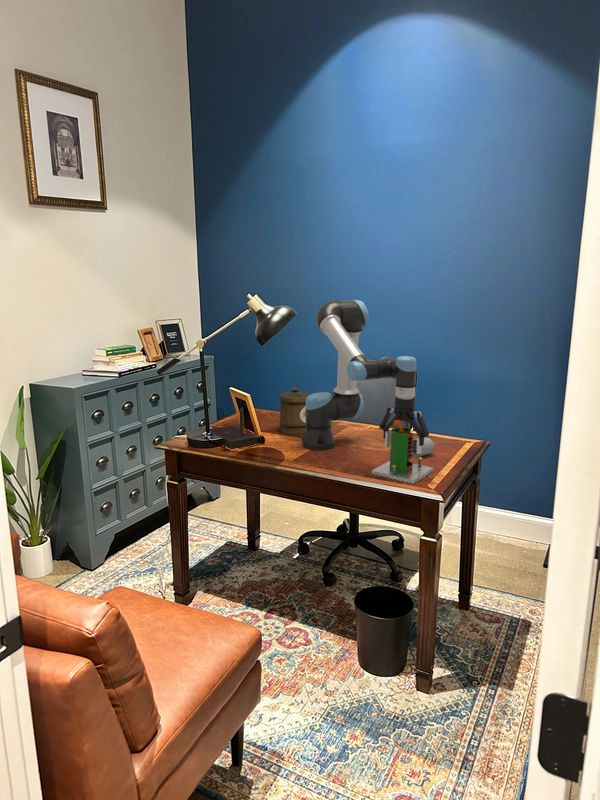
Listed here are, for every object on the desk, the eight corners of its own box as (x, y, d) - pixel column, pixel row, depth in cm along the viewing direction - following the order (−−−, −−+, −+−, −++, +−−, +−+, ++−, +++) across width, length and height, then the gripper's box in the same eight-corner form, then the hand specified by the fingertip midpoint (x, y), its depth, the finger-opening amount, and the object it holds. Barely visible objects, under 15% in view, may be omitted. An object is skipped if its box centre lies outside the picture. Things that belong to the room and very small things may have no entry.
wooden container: (309, 435, 290) (309, 390, 285) (278, 434, 291) (278, 389, 286) (311, 426, 304) (311, 383, 299) (281, 426, 305) (281, 383, 300)
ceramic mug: (435, 455, 258) (436, 438, 256) (421, 458, 254) (421, 441, 252) (418, 449, 267) (418, 432, 265) (404, 452, 263) (404, 435, 261)
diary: (238, 433, 296) (238, 423, 295) (265, 445, 276) (265, 435, 275) (203, 439, 285) (203, 429, 284) (229, 452, 265) (229, 441, 264)
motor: (414, 473, 232) (416, 423, 228) (391, 473, 232) (392, 423, 228) (410, 464, 242) (412, 416, 238) (388, 464, 242) (389, 416, 238)
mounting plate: (371, 474, 236) (371, 461, 235) (392, 462, 249) (392, 450, 248) (413, 483, 225) (414, 471, 224) (432, 471, 239) (433, 459, 237)
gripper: (371, 394, 235) (370, 446, 240) (431, 403, 220) (428, 458, 225) (381, 391, 241) (379, 442, 246) (439, 399, 226) (436, 453, 231)
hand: (402, 450), depth 235 cm, fingers open, 13 cm apart
